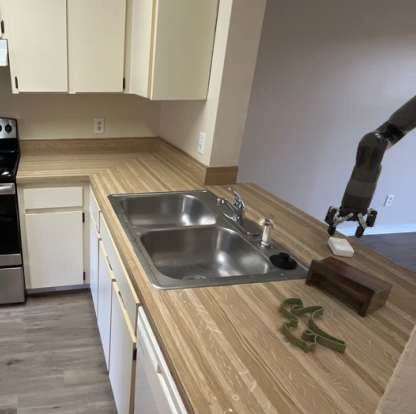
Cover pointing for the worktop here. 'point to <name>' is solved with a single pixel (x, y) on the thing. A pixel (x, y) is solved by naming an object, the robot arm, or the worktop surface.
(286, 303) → the cookie cutter
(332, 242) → the soap
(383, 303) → the dark wooden riser
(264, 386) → the worktop surface
